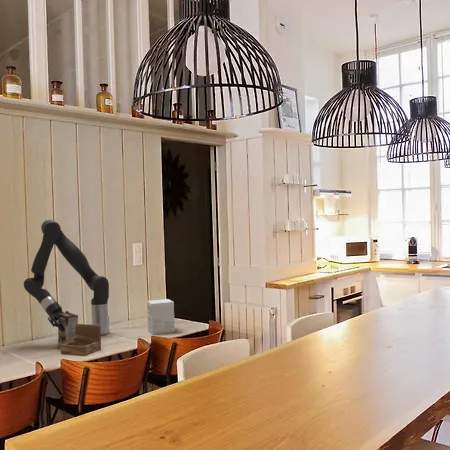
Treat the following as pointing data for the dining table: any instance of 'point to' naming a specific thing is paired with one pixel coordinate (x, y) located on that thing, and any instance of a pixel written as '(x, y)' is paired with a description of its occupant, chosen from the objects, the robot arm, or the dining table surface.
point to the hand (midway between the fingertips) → (69, 329)
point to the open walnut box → (84, 340)
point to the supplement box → (160, 316)
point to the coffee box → (67, 328)
